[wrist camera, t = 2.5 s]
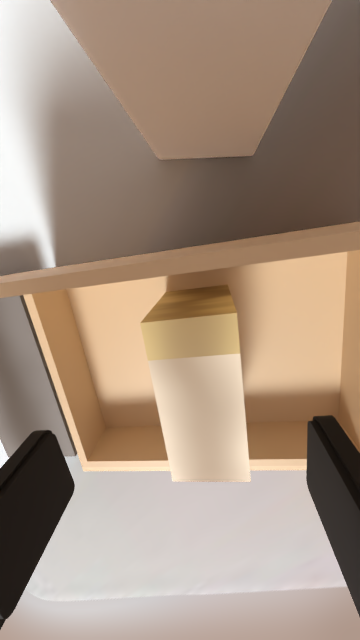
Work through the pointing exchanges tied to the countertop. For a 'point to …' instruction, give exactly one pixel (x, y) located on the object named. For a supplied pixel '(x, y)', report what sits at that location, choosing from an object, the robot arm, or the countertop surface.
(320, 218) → the countertop surface
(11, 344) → the block
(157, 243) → the countertop surface
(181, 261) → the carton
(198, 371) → the block
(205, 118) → the milk
